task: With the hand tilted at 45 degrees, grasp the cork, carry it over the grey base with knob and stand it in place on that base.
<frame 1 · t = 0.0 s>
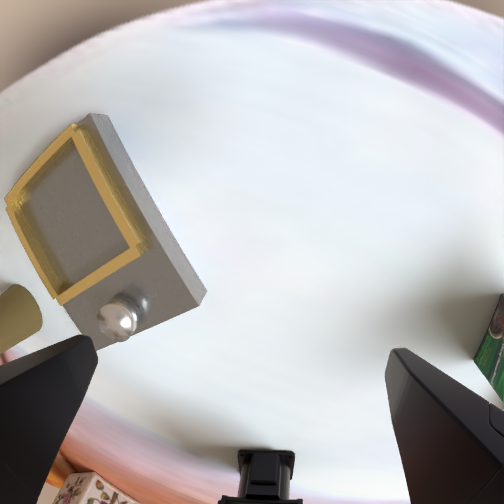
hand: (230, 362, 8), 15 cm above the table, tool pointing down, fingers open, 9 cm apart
cork: (25, 308, 28), on the table
decorative jar: (104, 487, 41), on the table
grey base with knob: (100, 237, 24), on the table
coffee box: (494, 326, 23), on the table
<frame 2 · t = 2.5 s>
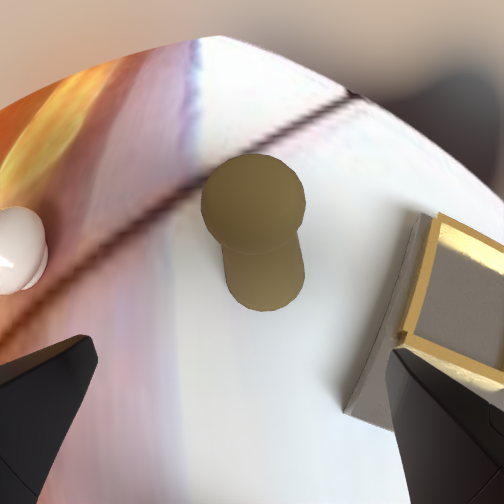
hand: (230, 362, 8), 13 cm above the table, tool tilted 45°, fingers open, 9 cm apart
flower vase: (28, 271, 26), on the table
cork: (265, 274, 24), on the table
grey base with knob: (449, 340, 19), on the table
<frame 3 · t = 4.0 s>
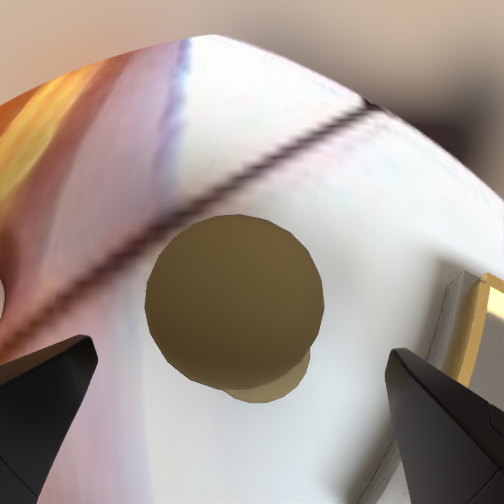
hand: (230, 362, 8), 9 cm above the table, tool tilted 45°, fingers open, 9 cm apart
cork: (257, 352, 17), on the table
grey base with knob: (480, 425, 13), on the table
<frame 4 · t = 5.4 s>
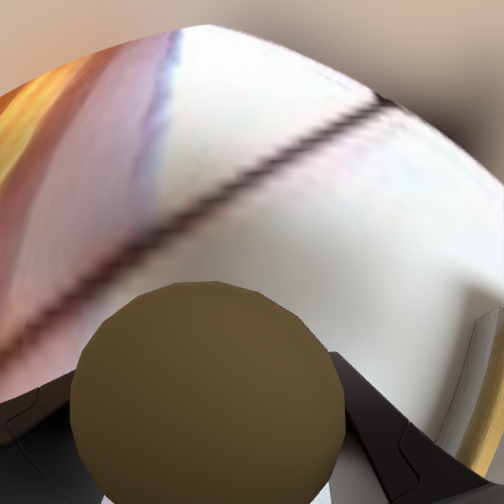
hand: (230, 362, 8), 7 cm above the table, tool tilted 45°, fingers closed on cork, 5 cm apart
cork: (251, 406, 14), on the table, touching gripper
grey base with knob: (499, 473, 9), on the table
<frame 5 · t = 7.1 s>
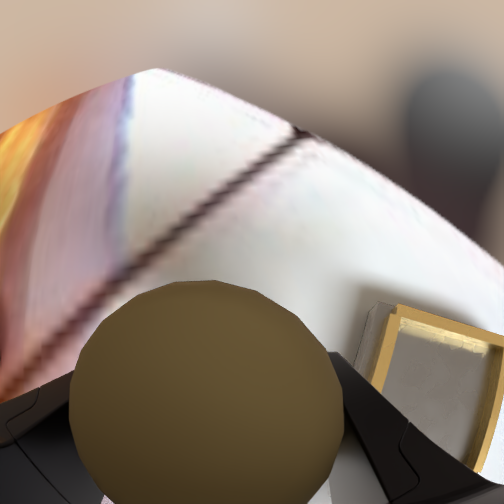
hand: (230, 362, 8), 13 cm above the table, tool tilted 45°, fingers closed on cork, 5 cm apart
cork: (250, 405, 14), point 7 cm above the table, touching gripper
grey base with knob: (410, 433, 17), on the table
when the fingers open (10 cm above the table, at t = 9.1 s): cork stays where it is, resting on grey base with knob.
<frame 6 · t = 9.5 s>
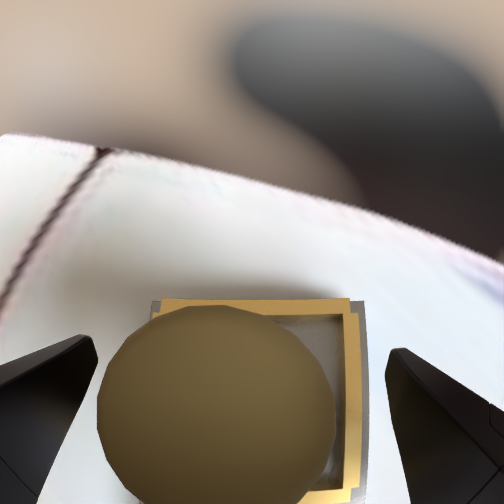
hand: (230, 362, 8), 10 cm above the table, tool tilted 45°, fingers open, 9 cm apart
cork: (252, 407, 14), point 2 cm above the table, touching grey base with knob
grey base with knob: (254, 443, 15), on the table
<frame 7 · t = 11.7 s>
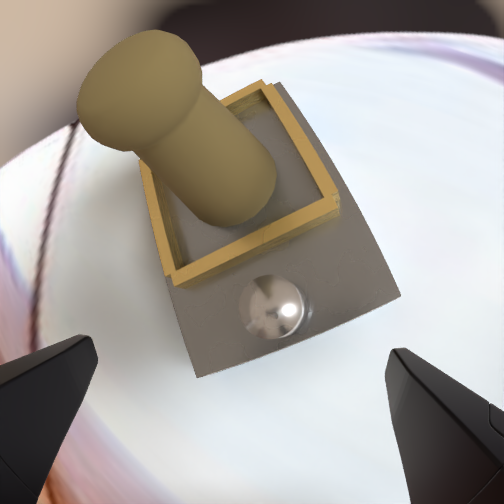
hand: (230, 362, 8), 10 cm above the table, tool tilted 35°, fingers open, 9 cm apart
cork: (230, 181, 19), point 2 cm above the table, touching grey base with knob
grey base with knob: (255, 224, 20), on the table
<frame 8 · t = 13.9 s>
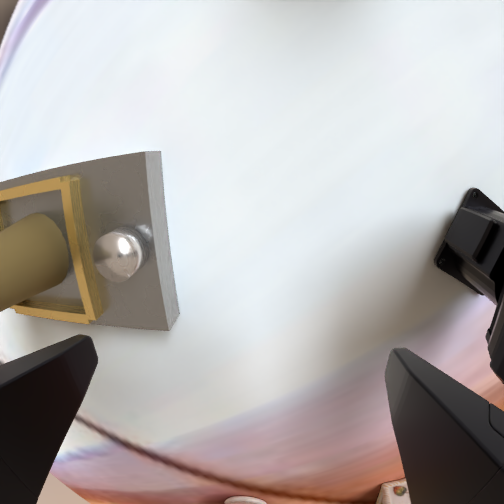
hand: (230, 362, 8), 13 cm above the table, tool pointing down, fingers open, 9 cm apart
flower vase: (252, 502, 33), on the table
cork: (42, 250, 20), point 2 cm above the table, touching grey base with knob
decorative jar: (413, 488, 30), on the table
grey base with knob: (79, 240, 22), on the table
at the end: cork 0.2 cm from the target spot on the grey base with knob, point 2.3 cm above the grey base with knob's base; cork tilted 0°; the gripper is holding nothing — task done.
